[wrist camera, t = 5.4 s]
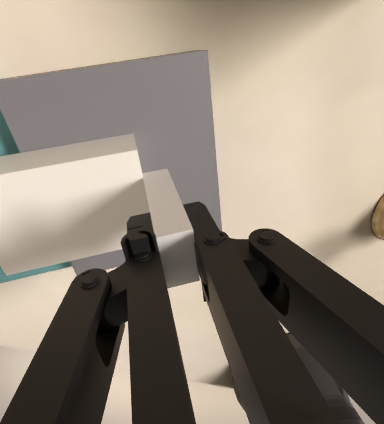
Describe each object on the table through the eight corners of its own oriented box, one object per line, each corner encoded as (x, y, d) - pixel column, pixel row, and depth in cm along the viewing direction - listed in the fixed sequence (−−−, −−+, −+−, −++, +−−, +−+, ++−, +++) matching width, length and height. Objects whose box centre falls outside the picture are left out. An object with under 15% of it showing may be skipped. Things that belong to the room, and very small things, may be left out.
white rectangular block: (151, 214, 21) (157, 240, 18) (22, 241, 19) (6, 275, 16) (133, 133, 18) (137, 149, 15) (-21, 159, 16) (-51, 183, 13)
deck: (212, 222, 26) (222, 241, 23) (81, 253, 24) (77, 276, 22) (195, 50, 19) (207, 50, 16) (7, 78, 17) (-13, 82, 15)
